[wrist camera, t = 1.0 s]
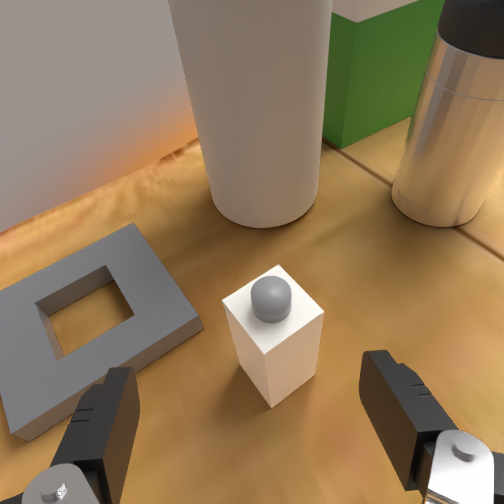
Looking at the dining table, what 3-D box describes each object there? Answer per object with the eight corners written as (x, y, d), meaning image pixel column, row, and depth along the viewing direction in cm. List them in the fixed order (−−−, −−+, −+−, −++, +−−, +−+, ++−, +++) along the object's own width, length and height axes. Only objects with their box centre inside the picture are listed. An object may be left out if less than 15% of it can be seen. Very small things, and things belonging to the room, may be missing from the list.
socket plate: (140, 237, 42) (133, 222, 40) (203, 328, 34) (198, 315, 32) (-7, 315, 37) (-23, 302, 35) (29, 441, 29) (10, 434, 27)
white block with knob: (281, 334, 33) (277, 250, 24) (315, 374, 31) (325, 298, 21) (239, 364, 32) (218, 287, 22) (271, 408, 29) (262, 342, 20)
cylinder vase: (294, 150, 49) (297, -111, 30) (335, 213, 42) (375, -82, 22) (202, 174, 48) (142, -85, 28) (227, 244, 40) (168, -44, 21)
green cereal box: (400, 82, 58) (452, -142, 39) (438, 102, 53) (518, -138, 35) (306, 123, 53) (315, -110, 34) (340, 149, 49) (372, -101, 30)
